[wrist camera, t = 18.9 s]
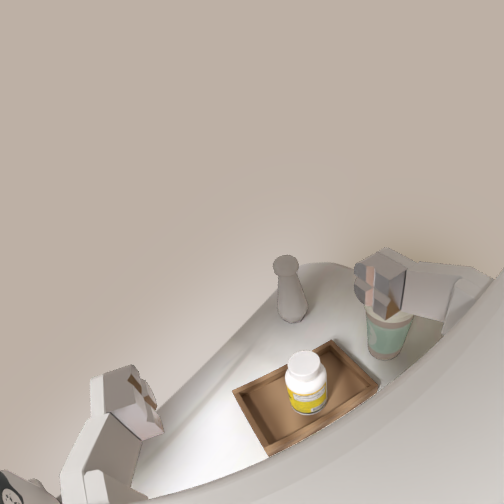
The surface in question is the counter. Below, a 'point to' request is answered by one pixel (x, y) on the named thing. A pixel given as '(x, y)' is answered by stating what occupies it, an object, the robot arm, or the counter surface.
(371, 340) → the coffee cup
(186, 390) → the counter surface
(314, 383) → the supplement bottle
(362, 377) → the tray
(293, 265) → the salt shaker
